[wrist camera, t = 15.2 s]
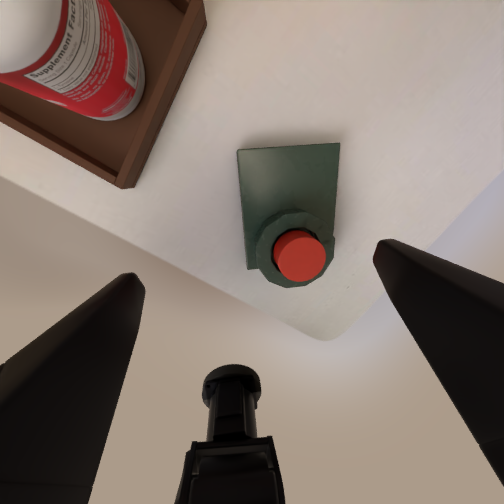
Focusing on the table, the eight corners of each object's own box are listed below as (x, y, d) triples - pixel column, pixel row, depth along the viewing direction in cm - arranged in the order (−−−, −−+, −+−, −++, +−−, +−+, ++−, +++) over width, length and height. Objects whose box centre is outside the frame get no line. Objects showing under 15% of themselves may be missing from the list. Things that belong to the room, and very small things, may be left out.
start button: (314, 268, 18) (324, 279, 16) (273, 272, 17) (279, 284, 15) (316, 227, 16) (327, 234, 14) (272, 232, 16) (278, 239, 14)
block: (325, 267, 21) (339, 282, 18) (247, 276, 20) (250, 292, 17) (333, 144, 17) (354, 138, 14) (236, 151, 16) (237, 146, 13)
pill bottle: (21, 50, 13) (-937, -520, 2) (90, -25, 12) (-927, -1470, 1) (104, 142, 15) (-194, 66, 4) (168, 84, 14) (-15, -177, 4)
